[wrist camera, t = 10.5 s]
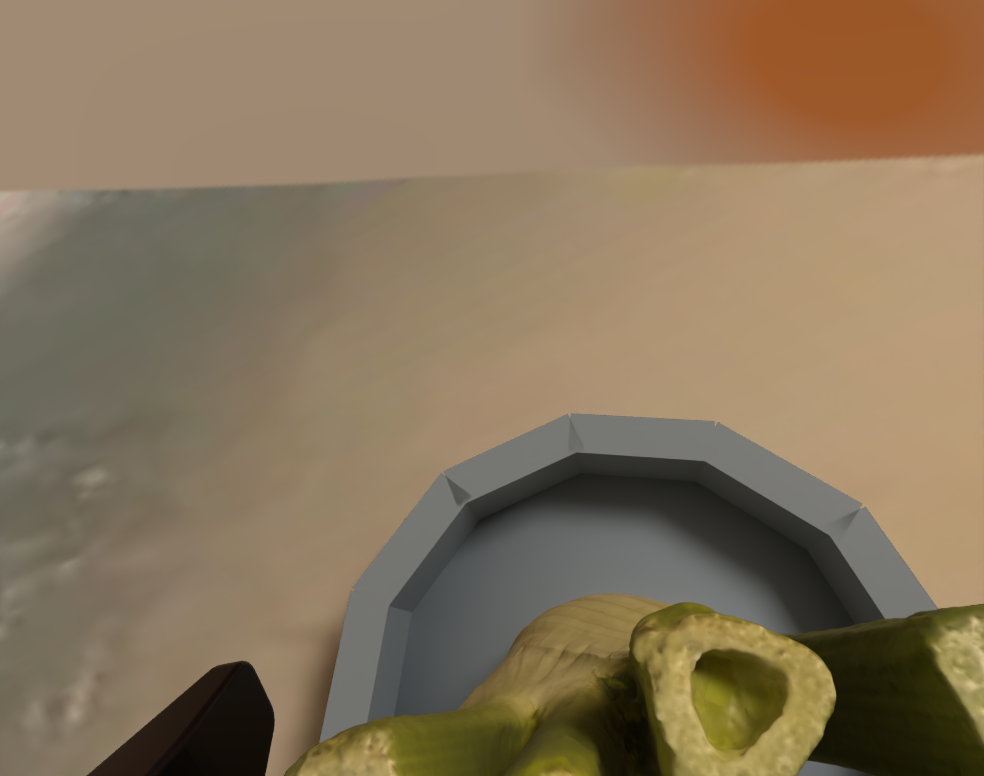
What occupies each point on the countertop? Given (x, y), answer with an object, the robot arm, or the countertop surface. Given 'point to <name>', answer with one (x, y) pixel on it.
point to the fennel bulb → (696, 700)
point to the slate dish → (604, 555)
